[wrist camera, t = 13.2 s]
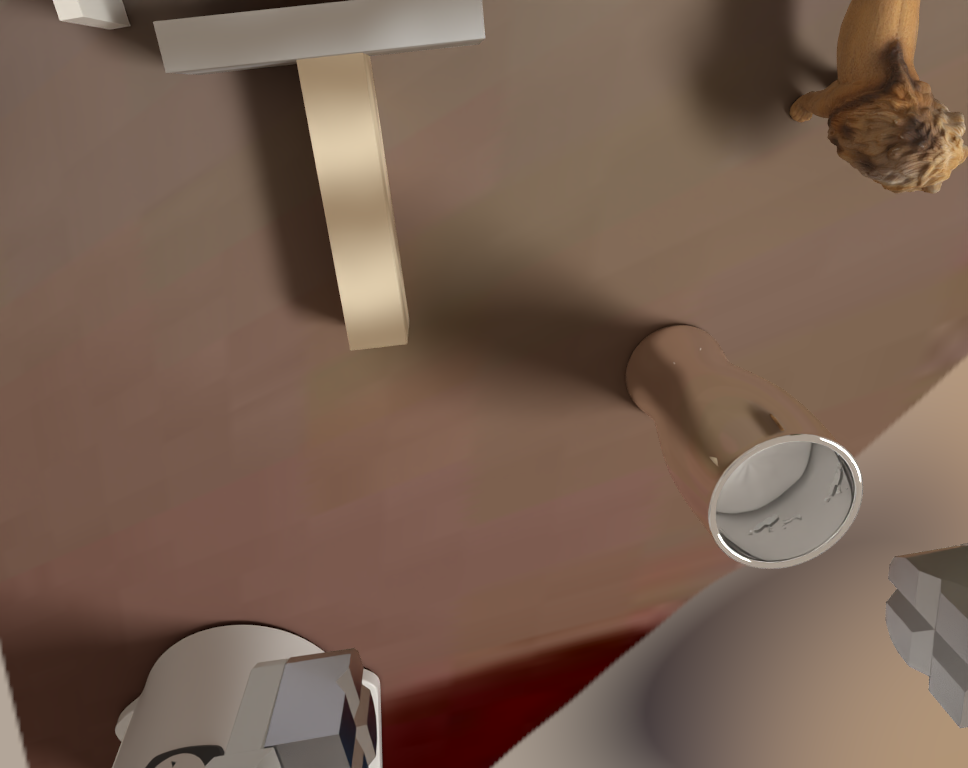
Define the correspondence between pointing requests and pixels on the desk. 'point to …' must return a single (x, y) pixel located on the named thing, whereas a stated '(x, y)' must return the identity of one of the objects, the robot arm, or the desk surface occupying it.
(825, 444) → the beer glass
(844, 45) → the lion figurine
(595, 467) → the desk surface
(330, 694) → the robot arm
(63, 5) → the box
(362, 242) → the scraper
